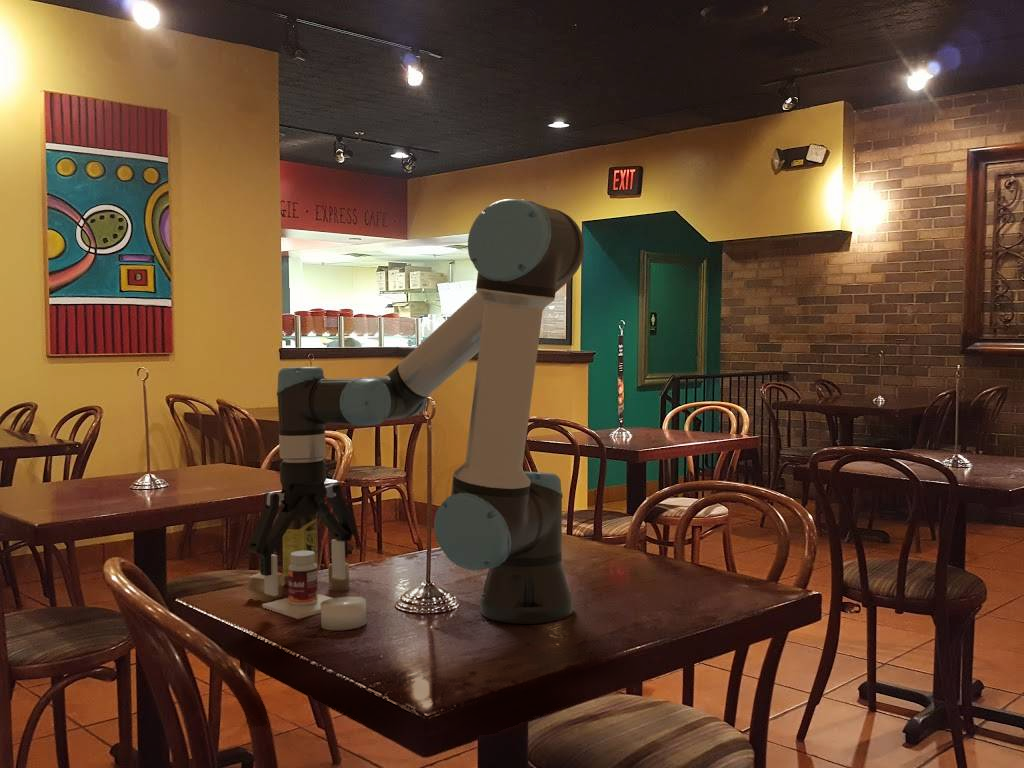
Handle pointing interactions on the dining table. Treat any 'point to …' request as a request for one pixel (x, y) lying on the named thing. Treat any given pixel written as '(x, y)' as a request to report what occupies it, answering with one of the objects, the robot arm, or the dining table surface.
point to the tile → (295, 607)
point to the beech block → (262, 588)
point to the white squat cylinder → (343, 613)
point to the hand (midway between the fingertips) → (306, 586)
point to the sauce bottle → (300, 540)
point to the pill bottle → (302, 578)
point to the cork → (339, 580)
